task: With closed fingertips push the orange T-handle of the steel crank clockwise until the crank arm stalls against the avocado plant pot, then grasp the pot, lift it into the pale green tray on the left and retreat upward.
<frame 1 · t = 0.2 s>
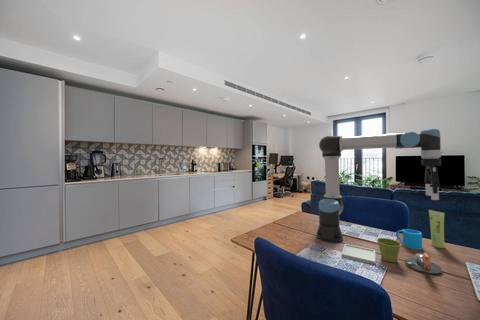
hand: (431, 197, 103), 28 cm above the table, fingers open, 13 cm apart
crank: (424, 259, 84), point 5 cm above the table, hinge at -90.0°
mug: (408, 245, 109), on the table
tray: (358, 254, 99), on the table
crank plate: (422, 266, 87), on the table
tube: (437, 246, 107), on the table
plant pot: (389, 260, 94), on the table
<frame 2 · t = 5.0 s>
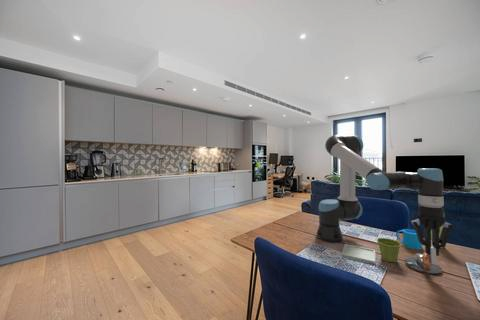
hand: (432, 262, 79), 6 cm above the table, fingers closed
crank: (424, 259, 84), point 5 cm above the table, hinge at -90.0°, touching gripper
everything else where it was.
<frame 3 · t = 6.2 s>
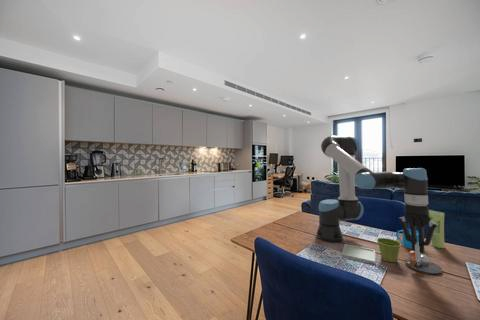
hand: (418, 259, 82), 6 cm above the table, fingers closed
crank: (418, 257, 85), point 5 cm above the table, hinge at -119.7°, touching gripper
everything else where it was.
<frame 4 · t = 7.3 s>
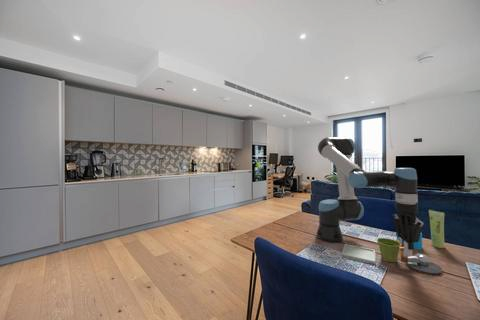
hand: (408, 255, 85), 6 cm above the table, fingers closed
crank: (413, 255, 87), point 5 cm above the table, hinge at -146.4°, touching gripper
everything else where it was.
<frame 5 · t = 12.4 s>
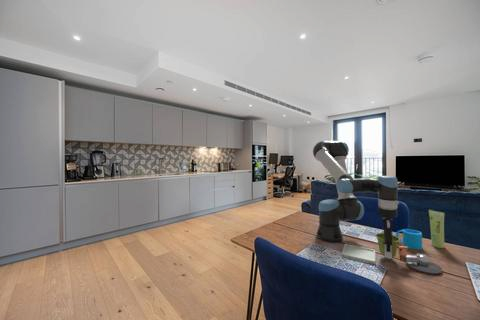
hand: (387, 253, 94), 2 cm above the table, fingers closed on plant pot, 8 cm apart
crank: (412, 255, 87), point 5 cm above the table, hinge at -152.7°
plant pot: (387, 254, 94), point 2 cm above the table, touching gripper
everything else where it was.
when the fingers open (1 cm above the table, at t = 18.3 s): plant pot stays where it is, resting on tray.
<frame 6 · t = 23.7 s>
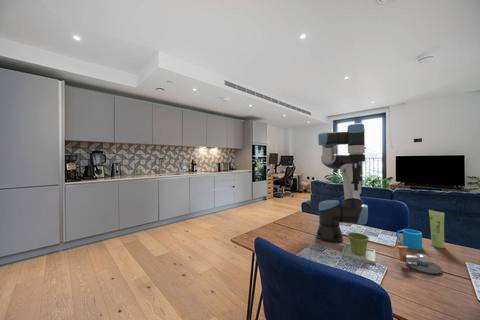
hand: (357, 195, 99), 31 cm above the table, fingers open, 13 cm apart
plant pot: (358, 253, 99), point 1 cm above the table, touching tray
everything else where it was.
at the end: plant pot inside the target area on the tray (0.1 cm from its centre), point 0.6 cm above the tray's base; plant pot tilted 0°; crank at -153° (first picture: -90°) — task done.
